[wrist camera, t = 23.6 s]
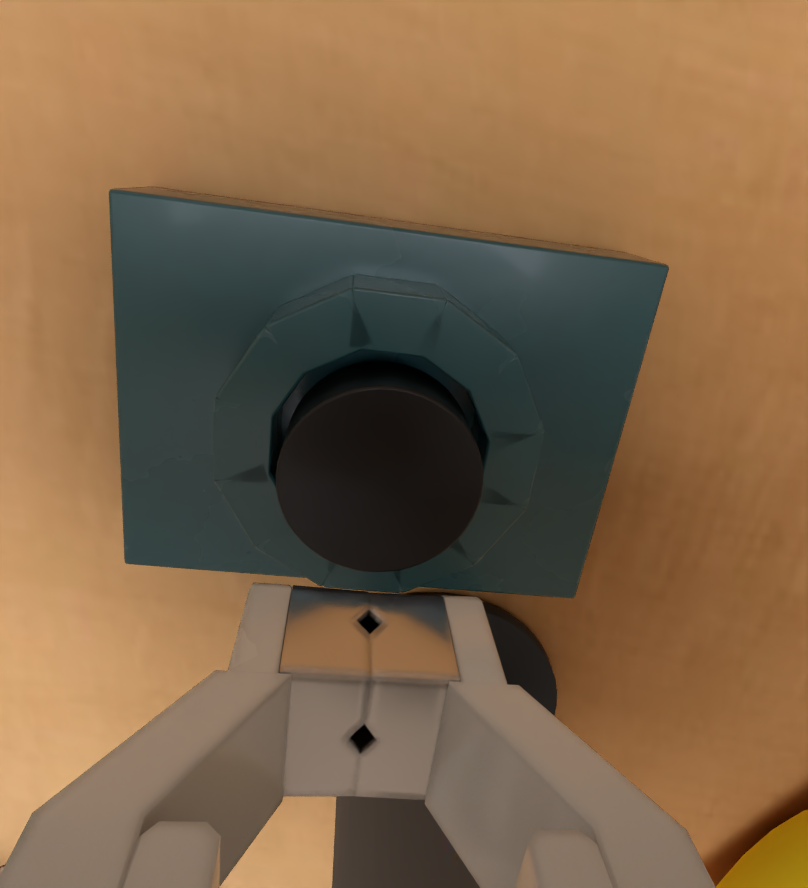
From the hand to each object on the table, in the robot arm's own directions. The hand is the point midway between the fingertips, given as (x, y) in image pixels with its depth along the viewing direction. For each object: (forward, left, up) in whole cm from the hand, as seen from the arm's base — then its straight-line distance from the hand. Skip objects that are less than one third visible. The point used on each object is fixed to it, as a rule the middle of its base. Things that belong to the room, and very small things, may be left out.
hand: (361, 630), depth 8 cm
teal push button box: (0, 0, -10) cm, 10 cm away
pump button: (0, 0, -6) cm, 6 cm away
